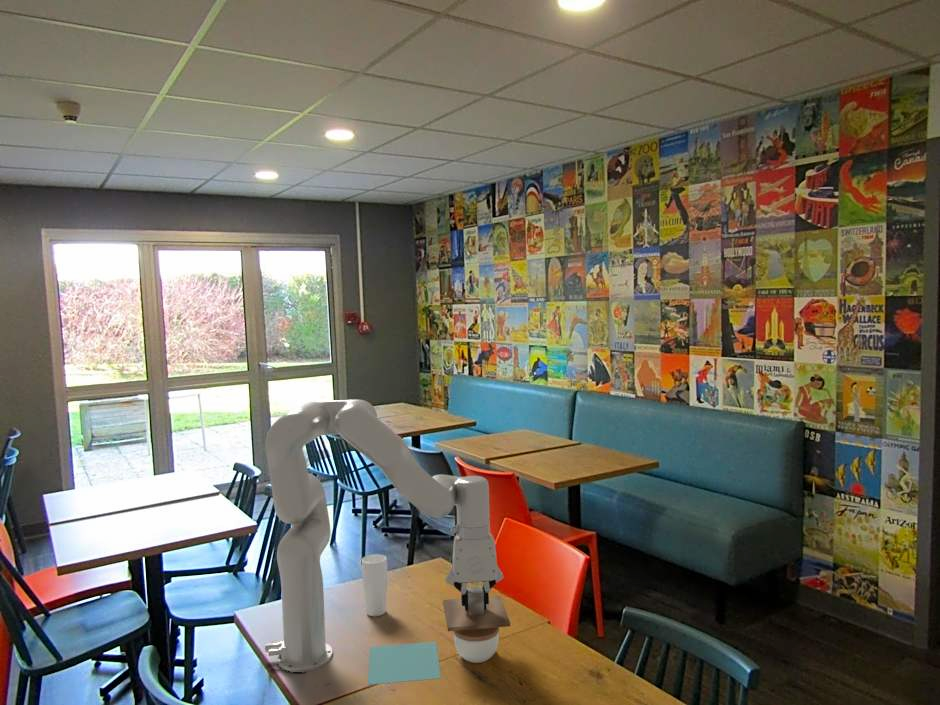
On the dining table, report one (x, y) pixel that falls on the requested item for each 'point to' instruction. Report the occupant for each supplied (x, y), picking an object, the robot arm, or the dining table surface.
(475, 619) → the walnut cover
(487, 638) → the lidded jar
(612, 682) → the dining table surface
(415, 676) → the teal mat
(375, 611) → the drinking glass
